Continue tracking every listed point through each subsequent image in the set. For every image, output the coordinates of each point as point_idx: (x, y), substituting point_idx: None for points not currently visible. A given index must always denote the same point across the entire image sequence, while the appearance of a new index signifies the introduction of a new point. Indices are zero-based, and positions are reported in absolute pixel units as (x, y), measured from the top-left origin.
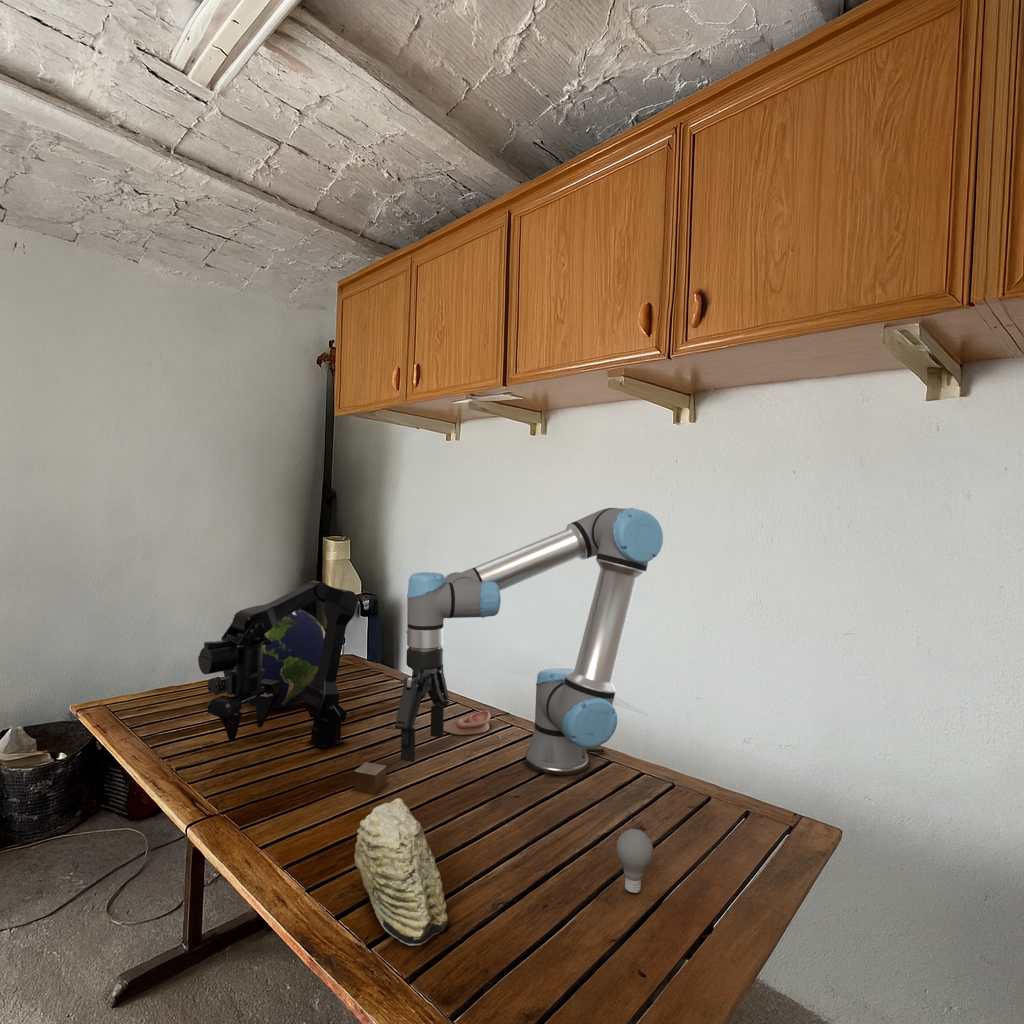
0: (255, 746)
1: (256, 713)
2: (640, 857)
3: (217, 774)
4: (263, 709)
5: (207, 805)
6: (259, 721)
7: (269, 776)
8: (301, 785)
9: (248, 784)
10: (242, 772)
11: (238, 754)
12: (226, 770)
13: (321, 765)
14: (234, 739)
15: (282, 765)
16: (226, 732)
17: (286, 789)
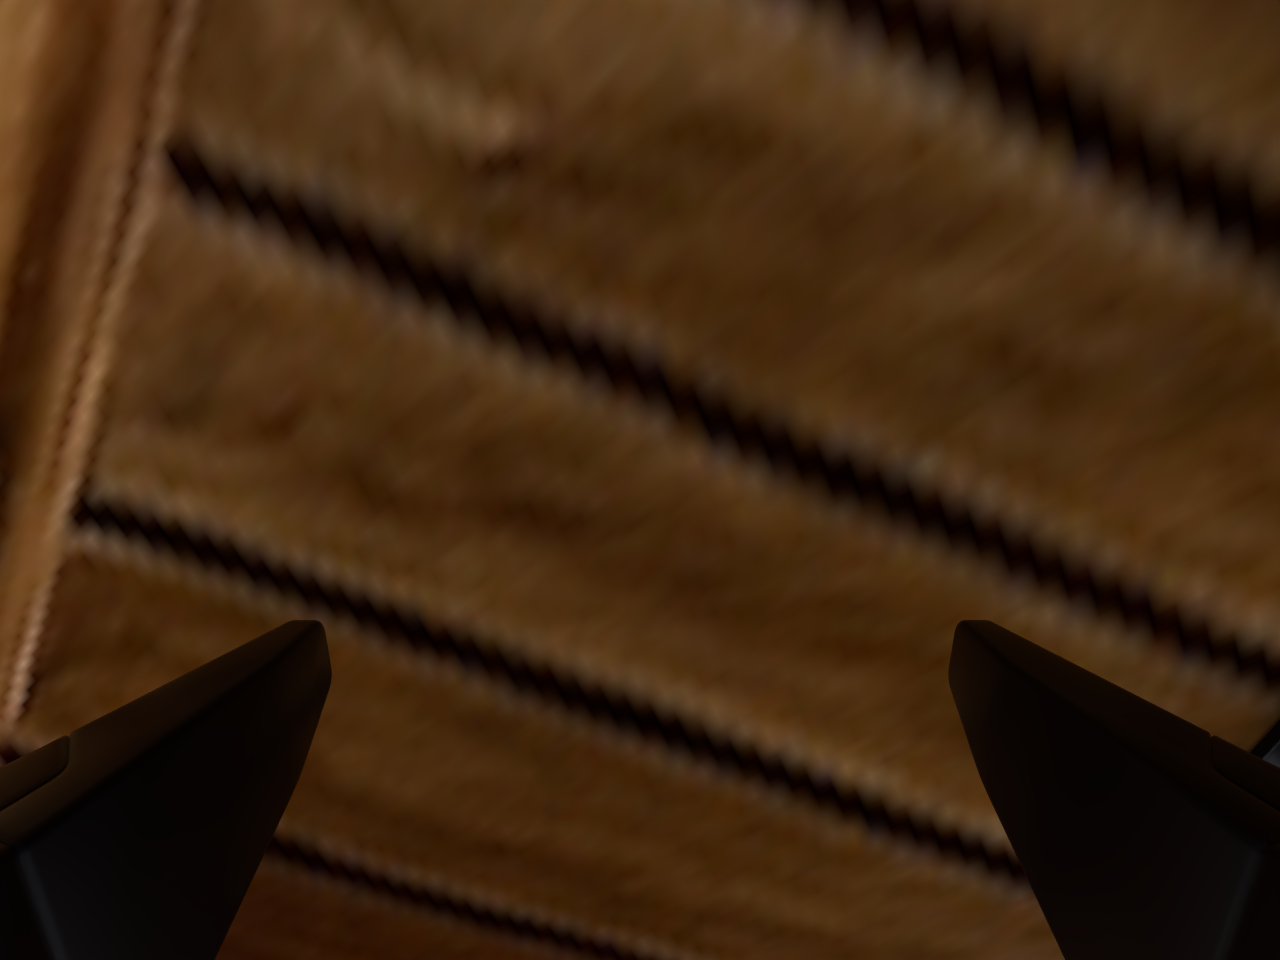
0: (1231, 131)
1: (1092, 726)
2: None
3: (456, 276)
4: (1131, 954)
5: (9, 609)
6: (989, 712)
7: (619, 697)
8: (587, 943)
9: (430, 647)
10: (593, 460)
11: (964, 109)
12: (566, 292)
13: (933, 897)
14: (318, 700)
15: (844, 666)
16: (177, 680)
17: (493, 900)
